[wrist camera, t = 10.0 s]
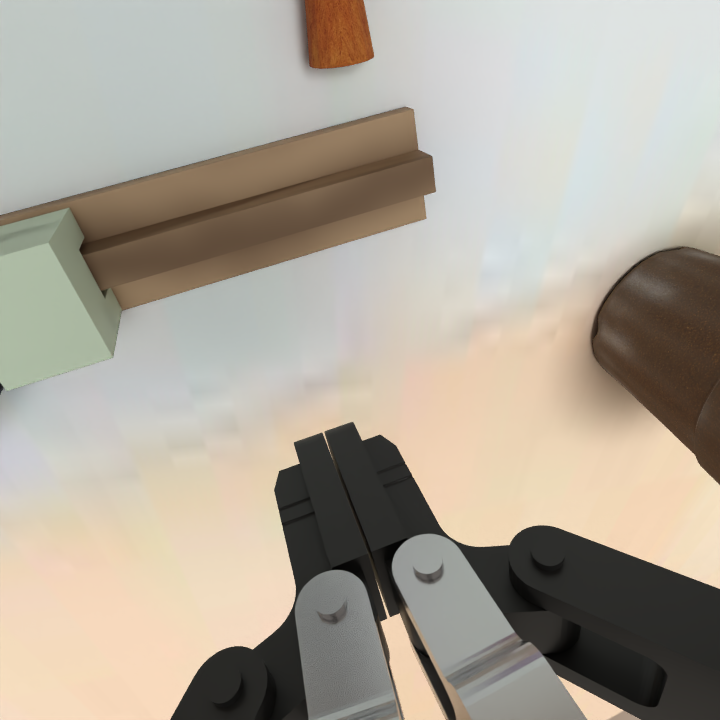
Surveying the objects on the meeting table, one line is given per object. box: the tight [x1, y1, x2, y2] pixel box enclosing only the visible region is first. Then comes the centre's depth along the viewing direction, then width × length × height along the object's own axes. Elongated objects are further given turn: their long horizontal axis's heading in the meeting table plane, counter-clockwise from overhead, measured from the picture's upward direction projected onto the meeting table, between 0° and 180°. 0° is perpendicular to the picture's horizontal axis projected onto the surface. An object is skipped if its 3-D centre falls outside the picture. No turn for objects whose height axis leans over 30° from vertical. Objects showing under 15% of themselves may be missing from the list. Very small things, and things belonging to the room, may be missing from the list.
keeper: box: [0, 208, 122, 391], centre depth 25 cm, size 6×5×6 cm
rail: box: [0, 107, 436, 310], centre depth 28 cm, size 6×26×5 cm, turn 102°
